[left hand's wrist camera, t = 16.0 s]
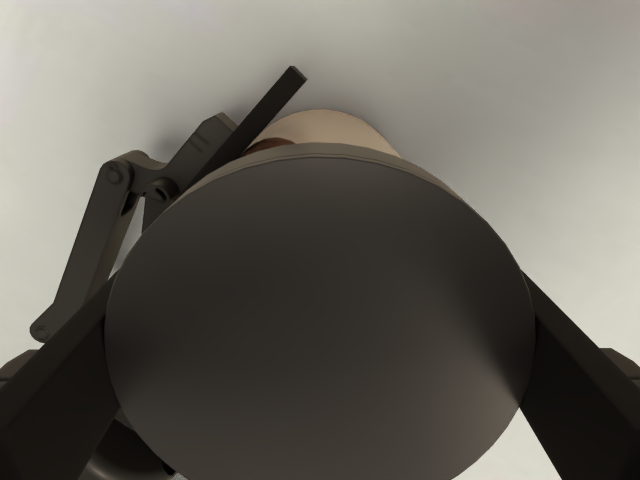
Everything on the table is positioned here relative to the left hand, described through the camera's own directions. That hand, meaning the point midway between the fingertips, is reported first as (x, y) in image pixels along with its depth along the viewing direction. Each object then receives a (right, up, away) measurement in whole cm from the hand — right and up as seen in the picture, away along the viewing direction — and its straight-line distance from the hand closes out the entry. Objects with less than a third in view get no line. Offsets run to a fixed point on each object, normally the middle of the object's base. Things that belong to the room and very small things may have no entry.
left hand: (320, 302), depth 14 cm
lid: (0, -1, -3) cm, 3 cm away
